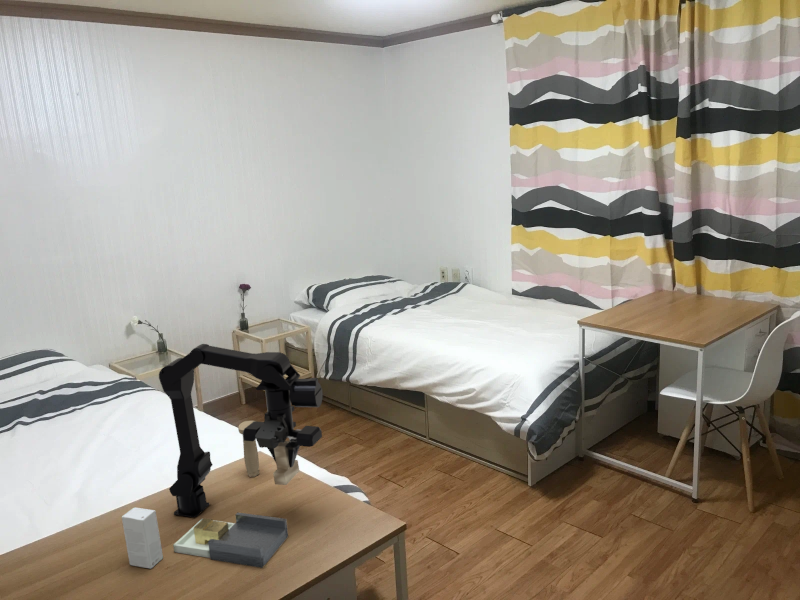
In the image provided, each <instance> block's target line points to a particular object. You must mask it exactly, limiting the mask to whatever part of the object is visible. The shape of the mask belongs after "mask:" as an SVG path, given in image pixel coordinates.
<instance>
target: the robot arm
mask: <svg viewBox="0 0 800 600" xmlns="http://www.w3.org/2000/svg"><path fill="white" fill-rule="evenodd" d="M200 365H205V366H206V365H207V366H211V367H218V368H223V369H227V370H228V369H229V370H233V371H238V372H244V373H247V374H250V375H251V376H253V377H254V378H255V379H257V380H259V381H261V382H259V384H258V385H257V386H256V387H255V390H256V391H265V392H264V393H265V401H266V402H265V403H266V411H267V412H265V413H264V421H256V420H253V421H254V422H253V423H251V424H250V425H249V426H247V427H246V428H245V429H244V430H243V433H242V434H241V435H242V441H243V440H244V441H254V440H255V439H256V443H257V446H258V447H259V448H261V449H264V448H267V450H268V452H269V453H270V455H271V457H272V458H273V460H274V462H275V463H276V459H275V453H274V448H276V447H277V446H278V444H279V443H280V442H283V443H284V442H285V441H287V439H288V441H290V442H289V443H288V444H287V445H286V446H285V447H286V448H287V449H288V456H289V465H290V467H293V465H294V462H295V460H297V459H296V458H297V455H298V452H299V449H300V447H306V448H307V447H308V448H310V447H313V446H315V445H316V443H317V442H319V441H320V440H321V439H322V437H323V434H322V433H323V431H322V429H321V427H319V426H313V425H304V426H303V427H302V428H301V429H300V428H299V429H294V428H295V427H296V426H297V423H296V421H294V419H293V412H294V411H295V408H320V407H321V405H322V402H323V396H324V395H323V394H324V393H323V388H322V385H321V383H320V382H319V378H317V377H310V378H300V377H301V374H300V373H299V372H298V371H297V370H296V369H295V368H294V366H293V365H292V364H291V362H290V359H289V358H288V357H287V355H286V354H285V353H282V352H275V351H272V352H271V351H267V352H260V353H251V352H247V351H242V350H241V351H240V350H235V349H229V348H225V347H218V346H213V345H209V344H207V343H201V344H199V345H197V346H195V347H194V348H192V349H191V350H190V352H189V353H187V354H186V355H185V356H184V357H179V358H176V359H175V360H172V362H170V363H168V364H166V365H165V366H164V367H162V368H161V369H160V371H159V372H158V379H159V382H160V385H161V388H162V391H163V392H164V393H165V395H166V396H167V397H168V398H169V399H170V403H171V409H172V415H173V419H174V420H173V421H174V424H175V425H174V426H175V431H176V437H177V441H178V447H179V448H178V449H179V458H178V461H177V466H176V470H177V471H176V478H177V479H176V480H175V482H174V483H173V484H171V486H170V487H169V489H168V490H169V492H170V494H171V496H172V497H175V499H176V500H175V501H176V506H177V507H176V508H177V509H176V510H175V511H174V512H173V515H174V516H180V517H187V518H197V517H198V516H199V515H201V513H203V511H204V510H206V509H207V508H208V507H209V506H210V504H211V503H210V502H207V497H206V496H207V495H206V492H205V491H204V485H201V484H202V483H203V482H204V481H205V480H206V477H207V476H208V475H209V473H210V472H211V467H213V463H212V461H211V460H212V459H211V452H210V451H204V450H203V448H201V445H200V440H199V439H200V438H199V434H198V433H199V432H198V427H197V422H196V415H195V411H194V404H193V399H192V392H193V387H194V382H195V369H196V368H198V367H199V366H200ZM285 375H286V378H285V377H284V376H285Z"/></svg>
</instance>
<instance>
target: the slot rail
mask: <svg viewBox="0 0 800 600" xmlns="http://www.w3.org/2000/svg"><path fill="white" fill-rule="evenodd" d="M234 523H235V524H234V525H233V526H232V527H231V528H230V529H229V530H228V531H227V532H226V533H225V534H224V535H223V536H222V537H221V538H220V539H219V540H215V539H210V540H209V541H208V544H209V551H210V558H209V559H210V560H212V561H219V562H223V563H224V562H225V563H228V564H229V563H231V564H237V565H242V566H248V567H254V568H261V569H263V568H264V566H265V565H266V564H267V563H268V562H269V561H270V559H271V558H272V557H273V556H274V554H275V553H277V551H278V549H280V547H281V546H282V545H283V544H284V542H285V541H286V540H287V538H288V537H289V530H288V529H289V528H288V521H287V518H282V517H274V516H267V515H259V514H252V513H245V512H244V513H243V512H236V513H235V522H234Z"/></svg>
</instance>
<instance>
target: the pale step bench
mask: <svg viewBox="0 0 800 600" xmlns="http://www.w3.org/2000/svg"><path fill="white" fill-rule="evenodd" d="M289 442H290V441H289V440H285V442H284V443H283V442H280V443H279V444H278V446H277V447H276V448H274V453H275V459H276V462H275V464H276V469H275V471H274V472H273V473H272V474H273V480H274V484H275V485H277V486H279V485H281V486H287V485H288V484H289V483H291V481H292V479H293V478H295V476H296V475H298V474H299V473H300V467H299V460H298V459H295V462H294V465H293V467H290V465H289V456H288V449H287V448H286V447H285V446H286V445H287V444H288V443H289Z"/></svg>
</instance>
